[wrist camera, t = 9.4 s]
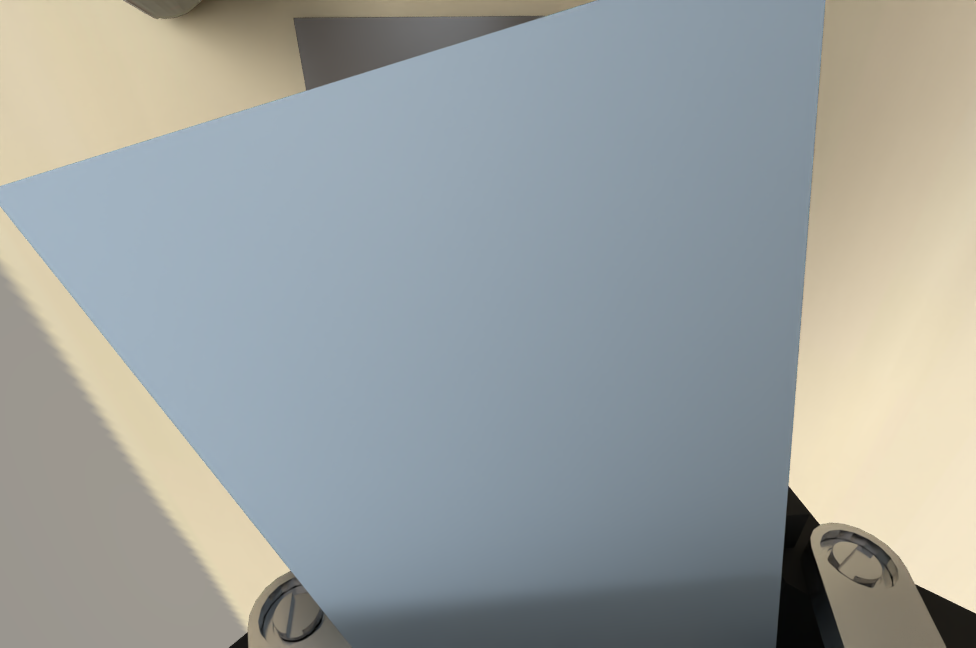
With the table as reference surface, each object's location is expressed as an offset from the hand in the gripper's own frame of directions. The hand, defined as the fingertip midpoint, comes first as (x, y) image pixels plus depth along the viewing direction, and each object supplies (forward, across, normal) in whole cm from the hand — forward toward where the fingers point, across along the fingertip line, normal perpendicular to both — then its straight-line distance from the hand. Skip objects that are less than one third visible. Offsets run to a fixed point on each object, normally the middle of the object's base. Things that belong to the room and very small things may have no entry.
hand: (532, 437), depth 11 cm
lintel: (+2, 0, 0) cm, 2 cm away
